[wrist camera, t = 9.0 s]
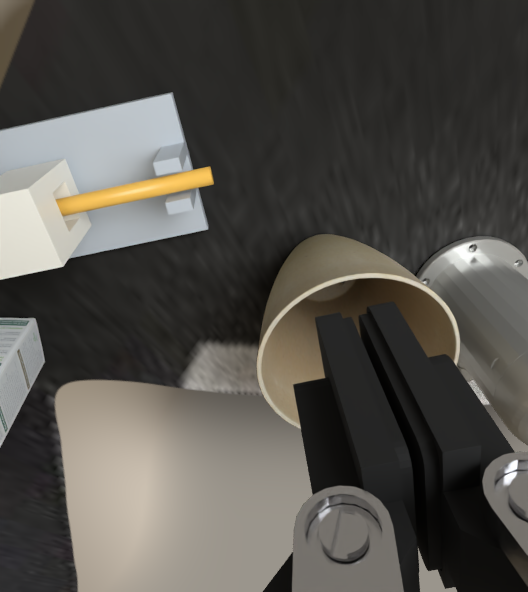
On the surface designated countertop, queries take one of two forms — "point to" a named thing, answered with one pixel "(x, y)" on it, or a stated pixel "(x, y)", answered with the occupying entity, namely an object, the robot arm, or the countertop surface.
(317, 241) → the plant pot
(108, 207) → the grey rod holder
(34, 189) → the slotted white cube
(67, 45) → the countertop surface
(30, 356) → the syrup box
